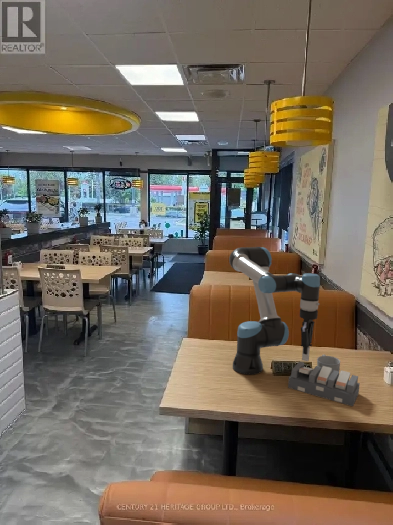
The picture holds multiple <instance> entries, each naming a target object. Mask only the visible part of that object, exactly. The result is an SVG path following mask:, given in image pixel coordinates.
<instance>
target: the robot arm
mask: <svg viewBox="0 0 393 525" xmlns="http://www.w3.org/2000/svg"><path fill="white" fill-rule="evenodd" d="M228 260H229V262H228V263H229V265H230V267H231V268H232V269H233V270H235V271H236V272H241V273H242V274H244V276H246V277H248V278H249V279H251V280H252V283H253V289H254V293H255V298H256V303H257V307H258V313H259V316H260V319H259V321H252V320H250V321H249V320H248V321H244V322H242V323H240V324H239V325H238V327H237V332H236V333H237V334H236V335H237V339H236V353H235V356H234V358H233V361H232V369H233V371H235V372H237V373H239V374H241V375H249V376H250V375H257V374H260V373H262V372H263V368H264V365H263V361H262V360H263V359H262V358H261V357H262V356H261V349H262V348H269V347H279V346H283V345H285V344H286V343H287V341H288V339H289V335H290V334H289V333H290V331H289V326H288V325H287V323H286V322H284V321H282V318H281V317H280V316H279V315H278V313H277V309H276V304H275V301H274V300H275V299H274V295H273V293H274V294H275V293H288V292H296V293H300V302H299V303H300V304H299V308H300V309H299V318H301V319H303V321H302V322H301V327H300V336H301V339H300V340H301V342H300V343H301V344H300V347H302V353H301V361H304V362H309V361H310V350H311V349H310V348H311V347H312V346H313V344H312V340H313V335H314V326H315V320H317V319H318V313H319V311H318V310H319V306H320V303H319V301H320V300H319V297H320V289H321V288H320V287H321V277H320V275H319V274H317V273H310V272H308V273H307V272H305V273H302V275H301V274H297V273H292V272H291V273H287V274H286V275H285V274H284V275H275V274H273V273H271V272H270V267H271V266H272V261H273V258H272V254H271V252H270V251H269V250H268V248H266V247H263V246H262V247H261V246H249V247H247V246H246V247H243V246H242V247H237V248H235V249H233V251H231V253H230V255H229V257H228Z"/></svg>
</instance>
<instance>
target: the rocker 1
mask: <svg viewBox="0 0 393 525" xmlns="http://www.w3.org/2000/svg"><path fill="white" fill-rule="evenodd" d="M313 369H314V368H311V367H306V366H304V368H300V369H299V372H301V373H305V374H310V373H311V372H312V371H313Z"/></svg>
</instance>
